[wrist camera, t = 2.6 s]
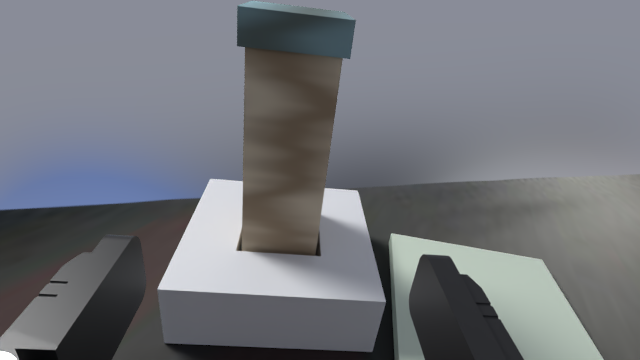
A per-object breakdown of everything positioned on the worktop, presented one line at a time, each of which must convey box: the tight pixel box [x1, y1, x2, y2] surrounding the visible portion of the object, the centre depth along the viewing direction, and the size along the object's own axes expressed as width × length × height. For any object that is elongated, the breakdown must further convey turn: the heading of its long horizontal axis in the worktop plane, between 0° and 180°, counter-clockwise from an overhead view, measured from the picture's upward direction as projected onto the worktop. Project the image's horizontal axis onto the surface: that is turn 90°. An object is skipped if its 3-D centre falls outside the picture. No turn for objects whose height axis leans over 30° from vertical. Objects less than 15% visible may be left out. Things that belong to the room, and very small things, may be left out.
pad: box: [389, 233, 604, 360], centre depth 24 cm, size 12×12×1 cm
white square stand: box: [157, 179, 386, 352], centre depth 25 cm, size 12×12×4 cm
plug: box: [237, 1, 355, 256], centre depth 22 cm, size 5×5×17 cm
